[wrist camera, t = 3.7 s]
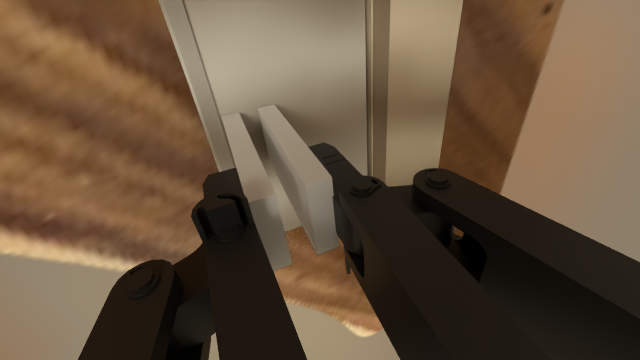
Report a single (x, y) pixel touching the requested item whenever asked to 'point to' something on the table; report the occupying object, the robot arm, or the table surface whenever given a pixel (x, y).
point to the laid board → (408, 84)
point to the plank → (276, 73)
